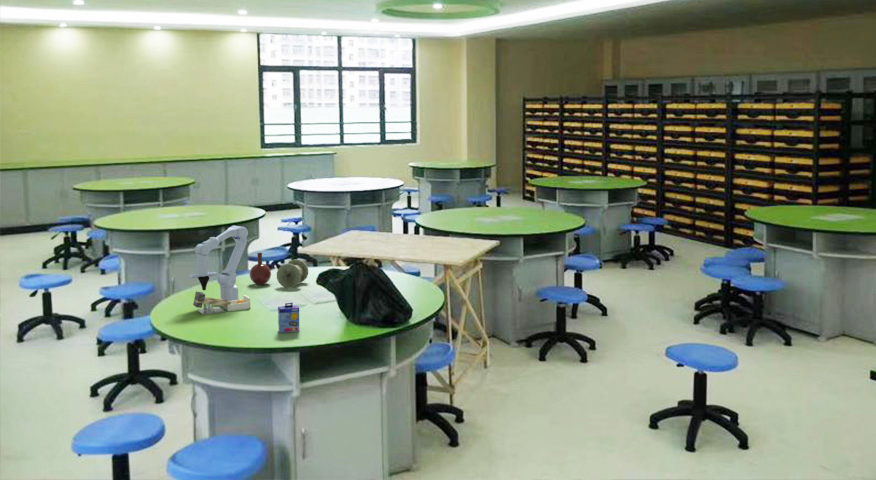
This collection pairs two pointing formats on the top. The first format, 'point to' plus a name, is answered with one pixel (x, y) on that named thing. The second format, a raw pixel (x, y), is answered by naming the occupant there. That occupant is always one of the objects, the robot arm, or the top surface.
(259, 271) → the round-bottom flask
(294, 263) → the spool
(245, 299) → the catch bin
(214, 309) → the lever stand
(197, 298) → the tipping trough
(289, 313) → the ink cartridge box
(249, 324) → the top surface
